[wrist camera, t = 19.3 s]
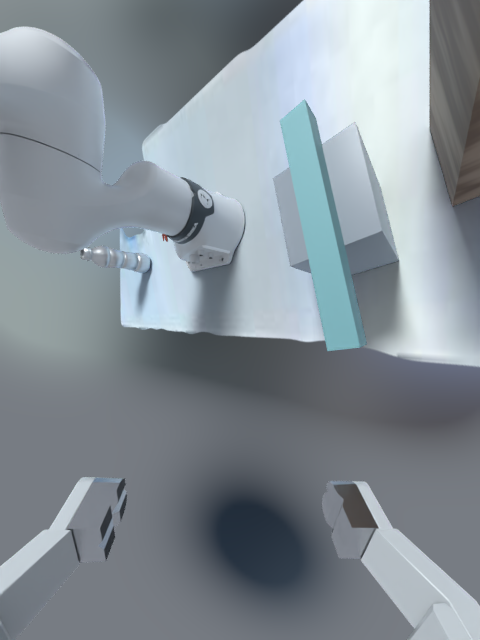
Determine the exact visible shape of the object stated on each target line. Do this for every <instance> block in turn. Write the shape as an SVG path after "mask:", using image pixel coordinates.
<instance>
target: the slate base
mask: <svg viewBox="0 0 480 640" xmlns="http://www.w3.org/2000/svg"><path fill="white" fill-rule="evenodd" d="M322 148H323V152H324V157H325V161H326V165H327V170H328V174H329V179H330V183H331V188H332V192H333V196H334V201H335V205H336V210H337V214H338V218H339V223H340V227H341V232H342V236H343V240H344V245H345V249H346V254H347V258H348V263H349V267H350V271H351V275H353V274H357V273H360V272H363V271H367V270H370V269H373V268H377V267H380V266H383V265H387V264H390V263H393V262H397V261H399V259H398V255H397V251H396V247H395V243H394V239H393V235H392V231H391V227H390V223H389V219H388V215H387V211H386V207H385V203H384V199H383V195H382V191H381V187H380V185H379V182H378V179H377V177H376V174H375V172H374V169H373V166H372V164H371V161H370V159H369V156H368V153H367V151H366V148H365V146H364V143H363V140H362V138H361V135H360V133H359V130H358V127H357V125H356V122H354V123H352V124H351V125H349V126H348V127H347V128H345V129H344V130H342V131H341V132H339V133H338V134H336V135H335V136H334V137H332V138H331V139H329V140H328V141H326V142H325V143H323V144H322ZM273 180H274V185H275V190H276V195H277V201H278V206H279V211H280V216H281V221H282V226H283V231H284V236H285V242H286V247H287V252H288V257H289V262H290V266H291V267H294V268H297V269H300V270H303V271H305V272H308V273H311V269H310V264H309V259H308V254H307V249H306V245H305V240H304V235H303V230H302V225H301V220H300V216H299V211H298V206H297V201H296V196H295V191H294V186H293V182H292V177H291V172H290V167H289V168H287V169H286V170H285V171H283V172H282V173H280V174H279V175H277V176H276V177H274V178H273Z"/></svg>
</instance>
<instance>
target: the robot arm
mask: <svg viewBox="0 0 480 640" xmlns="http://www.w3.org/2000/svg"><path fill="white" fill-rule="evenodd" d="M105 129H106V125H105V112H104V102H103V94H102V87H101V84H100V81H99V80H98V78H97V76H96V75H95V73H94V72H93V70H92V69H91V67H90V66H89V65H88V63H87V62H86V61H85V60H84V59H83V58H82V56H81V55H80V54H79V53H78V52H77V51H75V50H74V49H73V48H72V47H71V46H70V45H69V44H67V43H66V42H64V41H63V40H62V39H60V38H59V37H57V36H55V35H53V34H51V33H49V32H47V31H44V30H41V29H38V28H33V27H17V28H12V29H10V30H8V31H6V32H3V33H0V202H1V206H2V211H3V214H4V217H5V221H6V225H7V228H8V230H9V231H10V232H11V233H12V234H14V235H15V236H16V237H17V238H19V239H20V240H21V241H23V242H24V243H26V244H28V245H30V246H32V247H34V248H37V249H39V250H42V251H46V252H50V253H57V254H68V253H73V252H77V251H80V250H82V249H84V248H86V247H88V246H89V245H90V244H91V243H92V242H93V241H95V240H96V239H97V238H98V237H100V236H102V235H103V234H105V233H107V232H110V231H112V230H115V229H119V228H126V227H134V228H141V229H146V230H151V231H155V232H159V233H162V236H163V241H164V236H165V239H166V242H168V239H167V237H169V238H170V239H171V240H173V243H174V248H175V251H176V253H177V255H178V257H179V258H180V259H182V260H184V261H186V263H187V266H188V268H189V269H190V270H191V271H193V272H194V271H199V270H204V269H209V268H213V267H218V266H223V265H227V264H229V263H230V262H231V260H232V257H233V253H234V250H235V249H236V247H237V245H238V244H239V242H240V240H241V237H242V234H243V231H244V225H245V217H244V211H243V208H242V206H241V204H240V203H239V202H238V201H237V200H235V199H233V198H229V197H225V196H223V195H222V194H221V193H219V192H215V193H214V192H212V191H209V190H207V189H204V188H202V187H201V186H199V185H198V184H196V183H194V182H192V181H191V180H189V179H186V178H183V177H178V176H176V175H174V174H172V173H171V172H169V171H167V170H165V169H163V168H161V167H160V166H158V165H156V164H154V163H152V162H149V161H138V162H135V163H133V164H132V165H130V166H129V167H128V168H127V169H126V170H125V171H124V173H123V174H122V175H121V177H120V178H119V180H118V181H117V182H116V183H115V184H114V185H109V184H106V183H104V181H103V180H102V175H101V172H102V162H103V151H104V140H105ZM223 259H224V260H223ZM125 485H126V483H125V478H97V477H83V478H81V479H80V480H79V482H78V483H77V484H76V486H75V488H74V489H73V491H72V492H71V494H70V496H69V497H68V499H67V501H66V502H65V504H64V506H63V507H62V509H61V510H60V512H59V514H58V515H57V517H56V519H55V520H54V522H53V524H52V525H51V527H50V529H49V530H43V531H42V532H41V533H40V534H39V535H37V536H36V537H35V538H34V539H33V540H31V541H30V542H29V543H28V544H27V545H25V546H24V547H23V548H22V549H21V550H19V551H18V552H17V553H16V554H15V555H14V556H12V557H11V558H10V559H9V560H7V561H6V562H5V563H4V564H3V565H1V566H0V640H16V638H17V637H18V636H19V635H20V634H21V633H22V631H23V630H24V629H25V628H26V627H27V626H28V624H29V623H30V622H31V621H32V620H33V619H34V617H35V616H36V615H37V614H38V613H39V612H40V610H41V609H42V608H43V607H44V606H45V604H46V603H47V602H48V601H49V600H50V599H51V598H52V596H53V595H54V594H55V593H56V592H57V590H58V589H59V588H60V587H61V586H62V585H63V583H64V582H65V581H66V580H67V579H68V578H69V576H70V575H71V574H72V573H73V571H74V570H75V569H76V568H77V567H78V566H79V563H83V562H103V561H106V560H107V558H108V555H109V552H110V549H111V546H112V544H113V542H114V539H115V532H114V529H115V527H116V526H117V525H118V524H119V523H120V522H121V520H122V517H123V514H124V511H125V507H126V502H127V492H126V491H125V490H124V487H125ZM326 488H327V490H328V491H327V492H326V493H325V494H324V495H323V499H322V508H323V513H324V516H325V519H326V522H327V523H328V524H329V525H330V527H331V528H332V534H331V537H332V540H333V542H334V545H335V548H336V551H337V553H338V557H339V558H351V559H361V561H362V562H363V564H364V565H365V566H366V567H367V569H368V570H369V571H370V573H371V574H372V575H373V576H374V578H375V579H376V580H377V581H378V583H379V584H380V585H381V587H382V588H383V589H384V590H385V592H386V593H387V594H388V595H389V597H390V598H391V599H392V601H393V602H394V603H395V605H396V606H397V607H398V608H399V609H400V611H401V612H402V614H403V615H404V616H405V617H406V618H407V620H408V621H409V623H410V624H411V625H412V626H413V628H414V630H413V632H412V633H411V634H410V636H409V637H408V638H407V640H480V606H479V604H478V603H477V601H476V600H475V599H474V598H472V597H471V596H470V595H469V594H468V593H467V592H466V591H465V590H464V589H462V588H461V587H460V586H459V585H458V584H457V583H456V582H455V581H454V580H453V579H452V578H450V577H449V576H448V575H447V574H446V573H445V572H444V571H443V570H442V569H440V568H439V567H438V566H437V565H436V564H435V563H434V562H433V561H432V560H431V559H430V558H428V557H427V556H426V555H425V554H424V553H423V552H422V551H421V550H420V549H418V548H417V547H416V546H415V545H414V544H413V543H412V542H411V541H410V540H409V539H408V538H406V537H405V536H404V535H403V534H402V533H401V532H400V531H399V530H398V529H393V527H392V526H391V524H390V522H389V521H388V519H387V517H386V515H385V514H384V512H383V510H382V508H381V507H380V505H379V503H378V501H377V499H376V498H375V496H374V494H373V493H372V491H371V489H370V487H369V486H368V484H367V483H366V482H363V481H329V482H328V483H327V485H326Z"/></svg>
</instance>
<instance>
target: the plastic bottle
mask: <svg viewBox="0 0 480 640" xmlns="http://www.w3.org/2000/svg"><path fill="white" fill-rule="evenodd" d="M80 255H81V259H83V260H87V261H90V260H92V261H93V262H94V263H95V264H96V265H98V266H100V267H104V268H107V267H108V268H110V267H111V268H124V269H128V270H133V271H136V272H139V273H145V272H147V271H148V270H149V268H150V258H149V257H148V256H147V255H145V254H143V253H129V252H123V251H119V250H115V249H112V248H109V247H106V246H98V247H95V248H93V249H91V248H90V247H86V248H84V249H82V250H81V254H80Z"/></svg>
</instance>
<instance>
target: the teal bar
mask: <svg viewBox="0 0 480 640" xmlns="http://www.w3.org/2000/svg"><path fill="white" fill-rule="evenodd" d="M280 124H281V128H282V133H283V138H284V143H285V148H286V153H287V157H288V162H289V167H290V172H291V177H292V182H293V186H294V191H295V196H296V201H297V206H298V211H299V216H300V220H301V225H302V230H303V235H304V240H305V245H306V249H307V254H308V259H309V264H310V269H311V274H312V279H313V283H314V288H315V293H316V298H317V303H318V308H319V312H320V317H321V322H322V327H323V332H324V337H325V342H326V346H327V351H333V350H342V349H351V348H360V347H362V346H364V345H366V344H367V342H366V338H365V333H364V329H363V324H362V320H361V315H360V311H359V307H358V302H357V298H356V293H355V289H354V285H353V280H352V276H351V271H350V267H349V263H348V258H347V254H346V249H345V245H344V240H343V236H342V232H341V227H340V223H339V218H338V214H337V210H336V205H335V201H334V196H333V192H332V188H331V183H330V179H329V174H328V170H327V165H326V161H325V157H324V152H323V148H322V143H321V139H320V135H319V130H318V126H317V121H316V118H315V116H314V114H313V113H312V111H311V109H310V107H309V106H308V104H307V102H306V100H305V99H304V100H303V101H302V102H301V103H300V104H299V105H298V106H296V107H295V108H294V109H293V110H292V111H291V112H289V113H288V114H287V115H286V116H285V117H284V118H283V119H281V120H280Z"/></svg>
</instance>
